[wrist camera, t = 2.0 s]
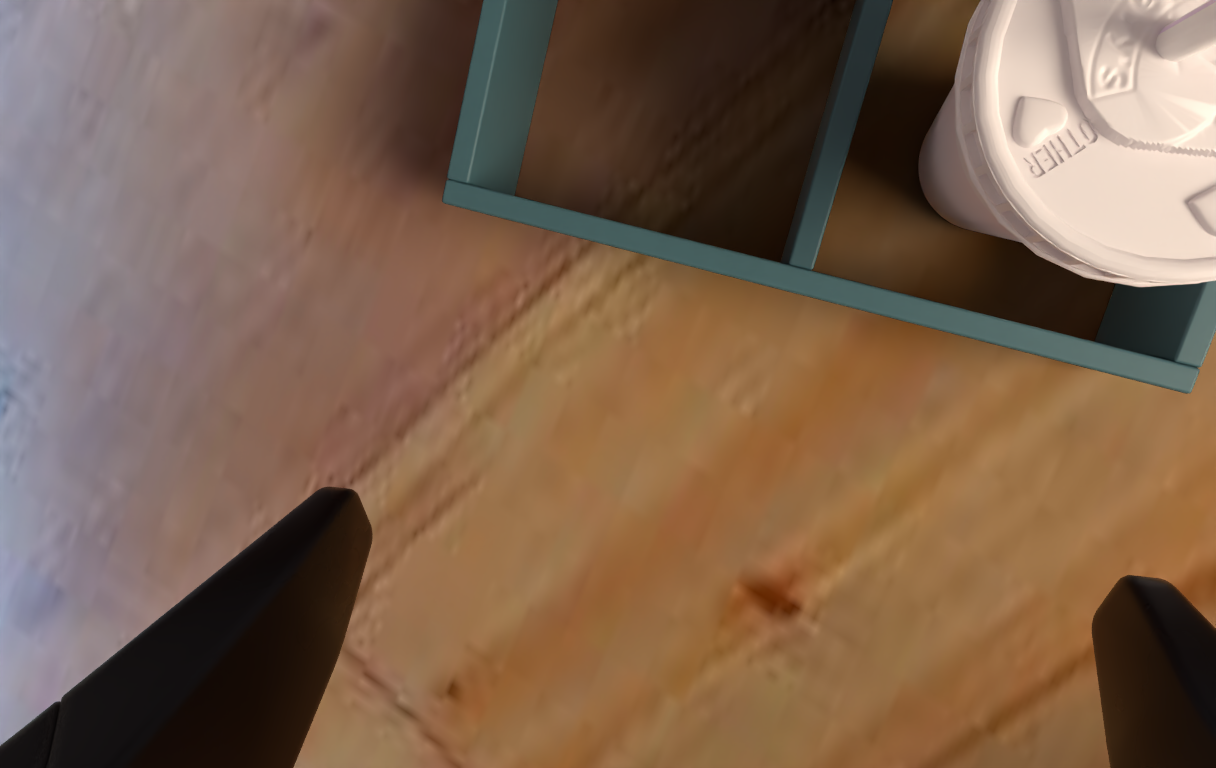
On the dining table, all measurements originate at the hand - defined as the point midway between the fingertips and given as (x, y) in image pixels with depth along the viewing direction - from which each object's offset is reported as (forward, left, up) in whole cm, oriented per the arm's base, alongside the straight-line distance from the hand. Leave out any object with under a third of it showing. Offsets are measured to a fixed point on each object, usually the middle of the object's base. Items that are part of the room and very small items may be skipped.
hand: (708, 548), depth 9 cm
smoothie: (+1, -9, -14) cm, 17 cm away
